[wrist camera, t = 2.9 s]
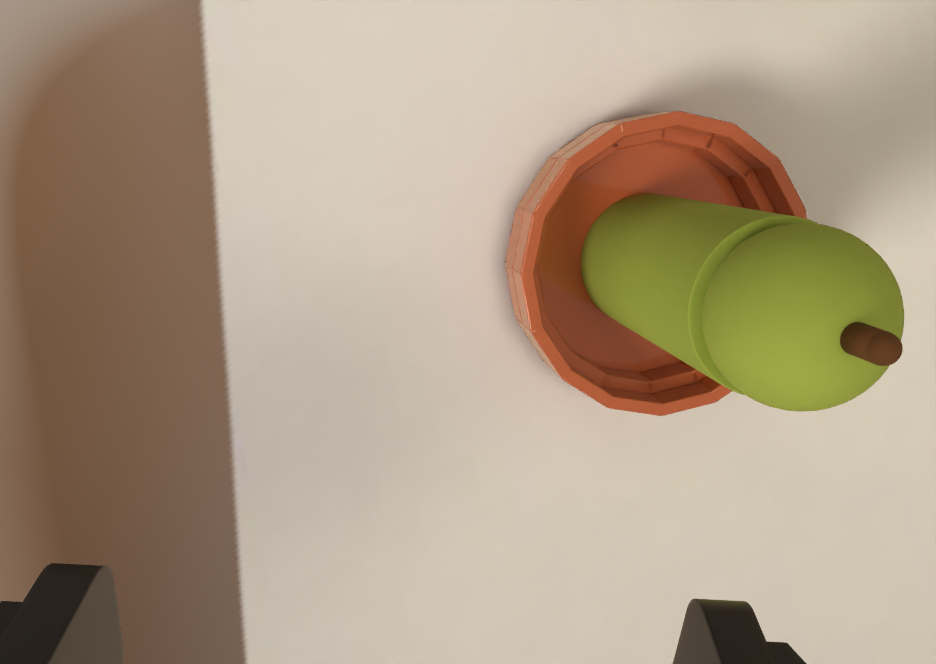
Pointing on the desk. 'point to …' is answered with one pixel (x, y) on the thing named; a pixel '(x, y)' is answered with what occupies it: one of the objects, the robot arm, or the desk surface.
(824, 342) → the pear toy
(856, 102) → the desk surface
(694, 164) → the bowl
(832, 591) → the desk surface
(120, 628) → the robot arm
